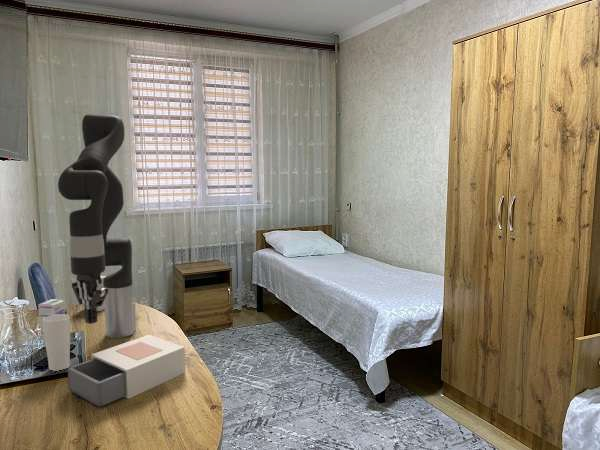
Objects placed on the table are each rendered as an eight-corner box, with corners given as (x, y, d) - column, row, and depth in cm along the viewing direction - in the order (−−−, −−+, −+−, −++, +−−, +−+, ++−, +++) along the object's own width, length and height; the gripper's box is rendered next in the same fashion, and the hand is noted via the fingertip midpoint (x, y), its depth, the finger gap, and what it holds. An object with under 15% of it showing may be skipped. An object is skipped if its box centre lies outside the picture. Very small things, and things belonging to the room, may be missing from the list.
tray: (99, 407, 107) (98, 383, 107) (68, 389, 116) (67, 368, 115) (162, 378, 122) (161, 358, 121) (131, 365, 130) (130, 345, 129)
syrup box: (57, 349, 143) (54, 304, 141) (40, 347, 144) (37, 303, 142) (69, 342, 149) (67, 299, 147) (54, 341, 150) (51, 298, 148)
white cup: (68, 361, 134) (65, 312, 132) (76, 368, 130) (73, 317, 128) (42, 368, 130) (39, 317, 128) (50, 375, 125) (46, 323, 123)
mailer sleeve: (128, 398, 113) (126, 369, 112) (93, 381, 122) (91, 354, 121) (185, 372, 127) (184, 346, 126) (150, 358, 136) (149, 334, 135)
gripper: (117, 254, 109) (120, 323, 111) (87, 248, 116) (91, 313, 119) (87, 258, 103) (91, 332, 105) (58, 252, 110) (62, 321, 113)
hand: (91, 322), depth 112 cm, fingers closed
